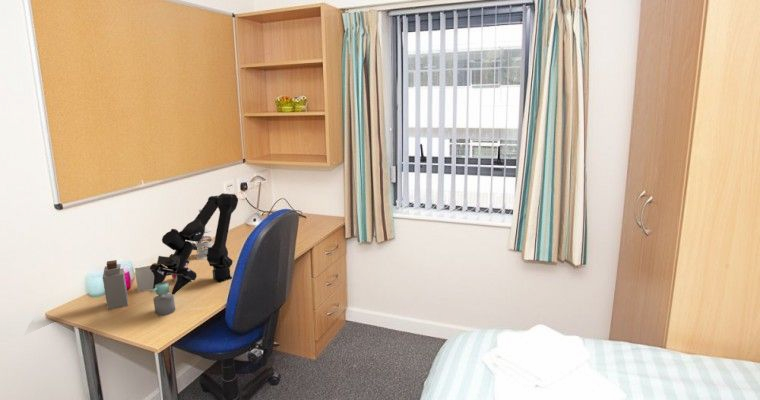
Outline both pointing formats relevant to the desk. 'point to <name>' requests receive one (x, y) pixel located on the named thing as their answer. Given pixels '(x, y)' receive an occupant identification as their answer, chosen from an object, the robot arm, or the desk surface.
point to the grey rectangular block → (144, 278)
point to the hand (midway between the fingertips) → (163, 292)
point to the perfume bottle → (115, 285)
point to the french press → (206, 245)
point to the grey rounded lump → (164, 304)
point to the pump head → (161, 289)
